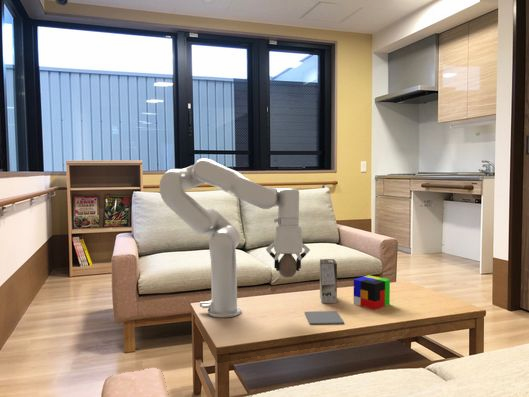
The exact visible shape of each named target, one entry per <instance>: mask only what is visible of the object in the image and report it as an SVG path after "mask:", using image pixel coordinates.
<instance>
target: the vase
mask: <svg viewBox="0 0 529 397" xmlns="http://www.w3.org/2000/svg"><path fill="white" fill-rule="evenodd" d="M297 272H298V271H297V263H296V258H295V257H294V255H293V254H282V256H281V258H280V259H279V271H278V273H279V274H280V276H282V277H283V278H292V277H294V276H295V274H297Z"/></svg>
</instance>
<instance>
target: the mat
mask: <svg viewBox="0 0 529 397" xmlns="http://www.w3.org/2000/svg"><path fill="white" fill-rule="evenodd" d="M304 314H305V318H306V320H307V322H308V324H309V325H310V326H315V325H316V326H318V325H319V326H320V325H321V326H322V325H344V324H345V321H344V319H342V316H341V315H340V313H338V311H337V310H320V311H318V310H317V311H316V310H315V311H304Z"/></svg>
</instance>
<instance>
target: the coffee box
mask: <svg viewBox="0 0 529 397" xmlns="http://www.w3.org/2000/svg"><path fill="white" fill-rule="evenodd" d="M319 298H320V302H321V304H323V303H324V304H329V303H330V304H331V303H333V304H336V303H337V302H338V301H337V300H338V263H337V261H336V260H335V259H334V258H331V259H330V258H328V259H327V258H325V259H321V258H319Z"/></svg>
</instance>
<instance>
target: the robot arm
mask: <svg viewBox="0 0 529 397" xmlns="http://www.w3.org/2000/svg"><path fill="white" fill-rule="evenodd" d="M205 184H208V185H209V186H212V187H214V188H216V189H219V190H221V191H223V192H225V193H228V194H230V196H231V195H232V196H234V197H236V198H238V199H239V200H242V201H243V202H246V203H248V204H250V205H253V206H254V207H257V208H259V209H263V210H270V209H271V208H274V207H278V208H277V210H278V211H277V213H278V214H277V216H278V217H277V218H274V219H273V222H274V223H276V224H277V225H276V226H275V231H274V239H273V242H272V243H271V244H270V245H268V246H267V247H266V248H265V250H266V251H265V252H267V253H268V254H269V255H270V257H272V258H273V259H274V265H273V267H274V269H275V270H276V272H279V261H280V259H279V257H280V255H284V254H292V255H296V257H297V258H295V260H296V263H297V271H296V272H299V271H300V269H301V268H302V260H303V259H304V258H305V256H307V254H309V252H310V251H311V250H310V248H309V247H308V246H307V245H305V244H304V243H303V232H302V226H301V225H299V224H300V220H299V219H300V190H299V189H298V188H293V187H289V188H288V187H286V188H285V187H284V188H276V187H270V186H269V187H266V186H263V185H262V184H259V183H257V182H254V181H253V180H251V179H248V178H247V177H245V176H243V174H241V173H240V172H239V171H236V170H235V169H232V168H229V167H227V166H224V165H222V164H220V163H218V162H217V161H215V159H211V158H200V159H198V160H196V162H195V163H194V164H193V165H190V166H187V167H184V168H172V169H169V170H167V171H165V172H164V173H163V175H162V176H161V178H160V181H159V188H158V189H159V193H160V196H161V199H162V200H163V203H164V204H166V206H167V207H168V208H169V209H170V210H171V211H172V212H173V213H174V214H175V215H177V217H179V218H180V219H181V221H183V222H184V223H185V224H186V225H187V226H189V227H190V229H191V230H192V231H193V232H195V233H196V234H197V235H202V236H203V235H207V236H208V237H210V238H209V244H208V245H209V247H208V248H209V255H210V274H211V275H210V277H211V278H210V279H211V281H210V282H211V289H210V291H211V299H210V300H208V301H200V302H199V307H200V308H202V309H207V314H208V316H211V317H214V318H226V319H227V318H232V317H236V316H238V315H240V314H241V313H242V308H241V307H240V306H239V305H238V284H237V283H238V280H237V278H238V277H237V275H238V271H237V270H238V269H237V254H236V249H237V247H238V245H239V244H240V241H241V235H240V232H239V230H238V229H237V228H236V227H235V226H234V225H233V224H232V223H231V222H229V221H228V220H227V219H226V218H225V217H224V216H223V215H222V214H221V213H220V212H218V211H217V210H215V209H213V208H210V207H203V206H202V205H201V204H200V203H198V202H197V200H195V199H194V198H193V197H192V196H190V195H189V194H188V193H187V192H185V191H188V190H191V189H193V188H196V187H199V186H201V185H205ZM272 249H274V252H275V253H274V252H273V251H272ZM303 249H304V250H303Z"/></svg>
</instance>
